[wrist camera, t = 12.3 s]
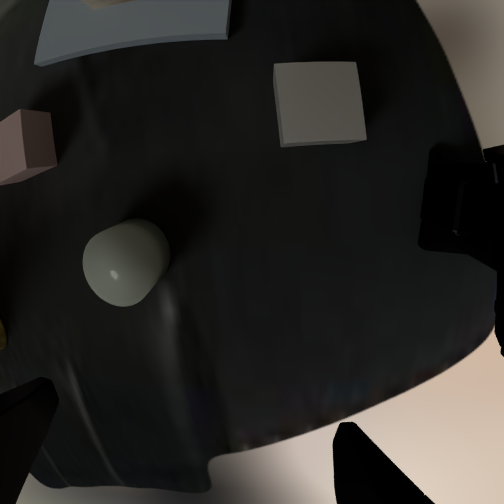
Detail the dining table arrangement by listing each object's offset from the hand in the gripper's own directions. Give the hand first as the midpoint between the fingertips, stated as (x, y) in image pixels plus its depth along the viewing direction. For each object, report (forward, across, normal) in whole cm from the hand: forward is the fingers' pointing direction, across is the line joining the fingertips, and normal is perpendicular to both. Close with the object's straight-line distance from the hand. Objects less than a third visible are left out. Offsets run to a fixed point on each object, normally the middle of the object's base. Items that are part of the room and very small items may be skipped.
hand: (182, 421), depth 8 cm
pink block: (+12, +15, -8) cm, 21 cm away
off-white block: (+12, -4, -10) cm, 16 cm away
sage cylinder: (+12, +6, -1) cm, 13 cm away
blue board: (+12, +8, -20) cm, 25 cm away
